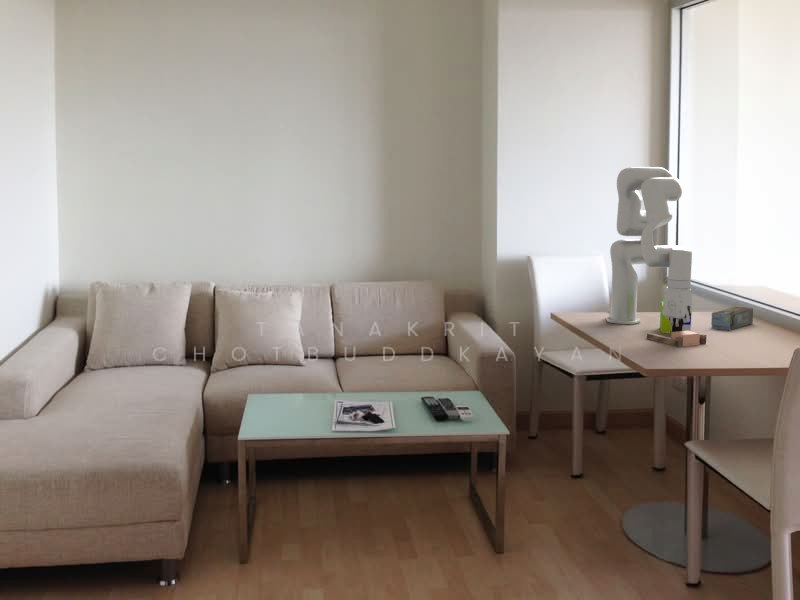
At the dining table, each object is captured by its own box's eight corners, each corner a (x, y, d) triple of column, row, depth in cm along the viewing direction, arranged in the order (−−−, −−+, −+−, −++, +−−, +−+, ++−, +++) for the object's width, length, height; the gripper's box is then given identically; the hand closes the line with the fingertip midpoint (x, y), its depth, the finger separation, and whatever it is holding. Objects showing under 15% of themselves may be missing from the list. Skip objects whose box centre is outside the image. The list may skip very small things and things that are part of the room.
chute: (646, 338, 336) (646, 329, 336) (673, 335, 341) (673, 327, 341) (678, 346, 322) (678, 337, 321) (706, 343, 327) (706, 334, 327)
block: (670, 343, 328) (671, 332, 327) (687, 341, 331) (687, 330, 330) (682, 346, 322) (683, 335, 322) (699, 345, 325) (699, 333, 325)
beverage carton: (709, 328, 357) (710, 310, 356) (733, 321, 370) (734, 305, 369) (730, 330, 351) (731, 313, 350) (753, 324, 365) (754, 307, 364)
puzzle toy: (690, 334, 345) (691, 306, 343) (661, 332, 347) (662, 305, 345) (687, 329, 354) (689, 302, 353) (659, 328, 356) (660, 301, 355)
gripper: (655, 282, 333) (653, 334, 336) (685, 288, 320) (683, 342, 323) (672, 281, 337) (670, 332, 339) (703, 286, 323) (700, 340, 326)
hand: (676, 337), depth 331 cm, fingers closed
